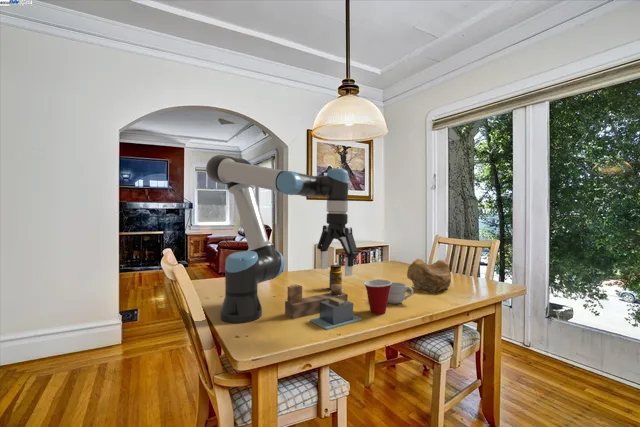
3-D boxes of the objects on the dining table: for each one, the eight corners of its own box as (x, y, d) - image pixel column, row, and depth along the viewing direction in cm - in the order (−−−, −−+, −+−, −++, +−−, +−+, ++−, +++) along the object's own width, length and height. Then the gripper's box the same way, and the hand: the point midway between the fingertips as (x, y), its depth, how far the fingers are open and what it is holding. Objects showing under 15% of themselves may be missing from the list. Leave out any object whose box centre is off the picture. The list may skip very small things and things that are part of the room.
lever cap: (333, 325, 105) (333, 304, 105) (319, 318, 112) (319, 299, 112) (353, 319, 110) (353, 300, 110) (338, 313, 117) (338, 295, 117)
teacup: (375, 301, 134) (375, 283, 134) (389, 296, 142) (389, 279, 142) (404, 309, 124) (404, 289, 124) (417, 303, 132) (417, 284, 132)
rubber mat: (326, 329, 102) (326, 328, 102) (310, 321, 110) (310, 319, 110) (362, 320, 112) (362, 318, 112) (344, 312, 120) (344, 311, 120)
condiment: (345, 290, 153) (345, 266, 153) (331, 292, 148) (331, 267, 148) (336, 287, 159) (336, 263, 159) (322, 289, 155) (322, 265, 154)
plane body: (293, 319, 112) (293, 289, 112) (284, 314, 117) (285, 285, 117) (347, 306, 127) (347, 279, 127) (338, 302, 132) (338, 277, 132)
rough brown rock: (422, 297, 144) (425, 266, 143) (402, 286, 160) (405, 257, 158) (462, 295, 151) (465, 265, 150) (439, 284, 167) (442, 257, 166)
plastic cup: (363, 306, 127) (364, 277, 127) (390, 308, 125) (391, 279, 125) (362, 315, 116) (363, 284, 116) (392, 317, 114) (392, 285, 114)
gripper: (369, 214, 103) (368, 277, 103) (324, 212, 123) (323, 265, 123) (352, 213, 98) (351, 280, 99) (309, 212, 118) (307, 267, 119)
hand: (335, 272), depth 111 cm, fingers open, 13 cm apart
